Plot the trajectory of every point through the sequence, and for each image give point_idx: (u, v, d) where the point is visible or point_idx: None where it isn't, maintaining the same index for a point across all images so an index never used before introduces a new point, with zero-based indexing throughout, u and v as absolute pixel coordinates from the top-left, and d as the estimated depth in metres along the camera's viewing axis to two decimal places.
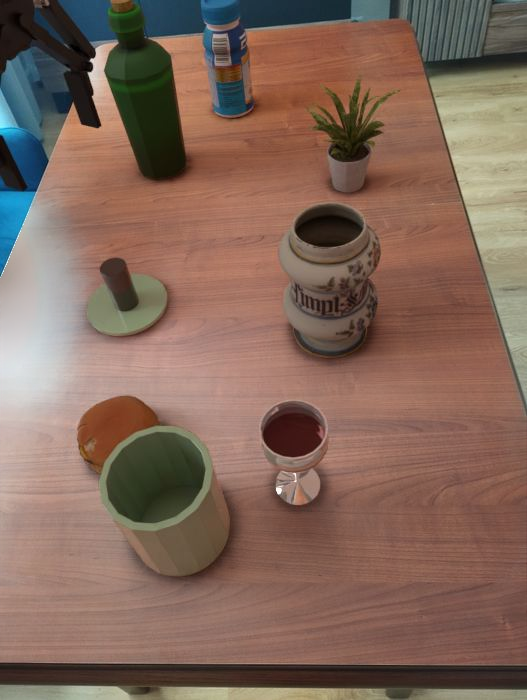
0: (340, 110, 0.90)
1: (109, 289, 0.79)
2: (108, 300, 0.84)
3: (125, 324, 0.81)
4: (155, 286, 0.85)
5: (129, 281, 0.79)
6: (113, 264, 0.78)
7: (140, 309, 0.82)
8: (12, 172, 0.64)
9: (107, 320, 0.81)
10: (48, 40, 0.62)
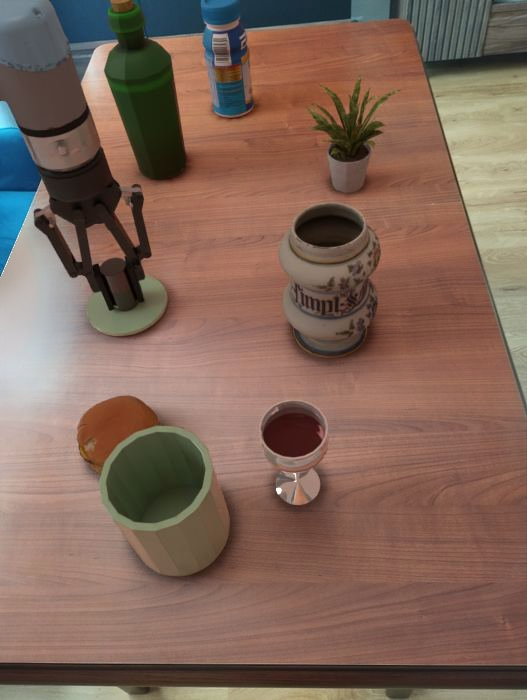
0: (340, 110, 0.90)
1: (109, 289, 0.79)
2: None
3: (125, 324, 0.81)
4: (155, 286, 0.85)
5: (129, 281, 0.79)
6: (113, 264, 0.78)
7: (140, 309, 0.82)
8: (104, 298, 0.80)
9: (107, 320, 0.81)
10: (114, 230, 0.72)
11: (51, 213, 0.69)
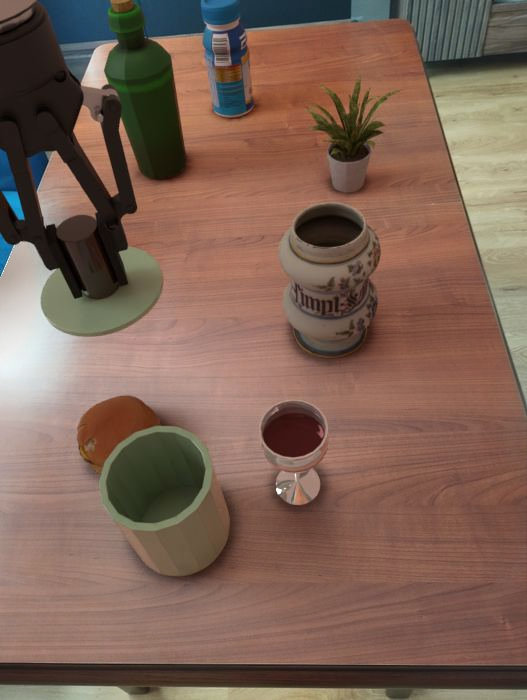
0: (340, 110, 0.90)
1: (73, 265, 0.51)
2: None
3: (97, 319, 0.52)
4: (145, 262, 0.57)
5: (104, 251, 0.51)
6: (78, 224, 0.50)
7: (122, 296, 0.54)
8: (65, 278, 0.52)
9: (71, 313, 0.53)
10: (74, 162, 0.44)
11: None
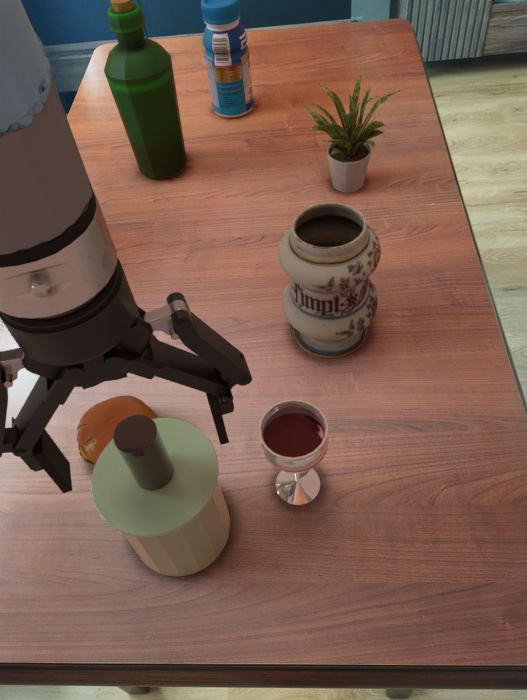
0: (340, 110, 0.90)
1: (129, 466, 0.49)
2: (125, 467, 0.53)
3: (153, 518, 0.50)
4: (199, 443, 0.54)
5: (161, 451, 0.49)
6: (136, 428, 0.48)
7: (177, 487, 0.52)
8: (52, 477, 0.47)
9: (124, 507, 0.51)
10: (162, 371, 0.41)
11: (18, 365, 0.37)
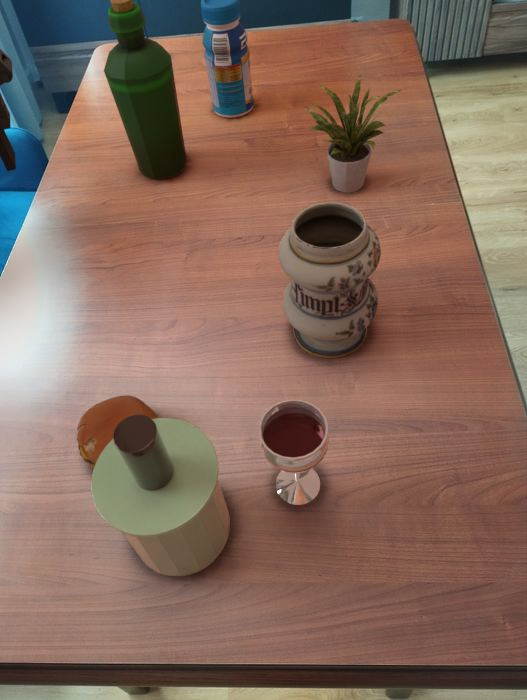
0: (340, 110, 0.90)
1: (129, 466, 0.49)
2: (125, 467, 0.53)
3: (153, 518, 0.50)
4: (199, 443, 0.54)
5: (161, 451, 0.49)
6: (136, 428, 0.48)
7: (177, 487, 0.52)
8: None
9: (124, 507, 0.51)
10: None
11: None
